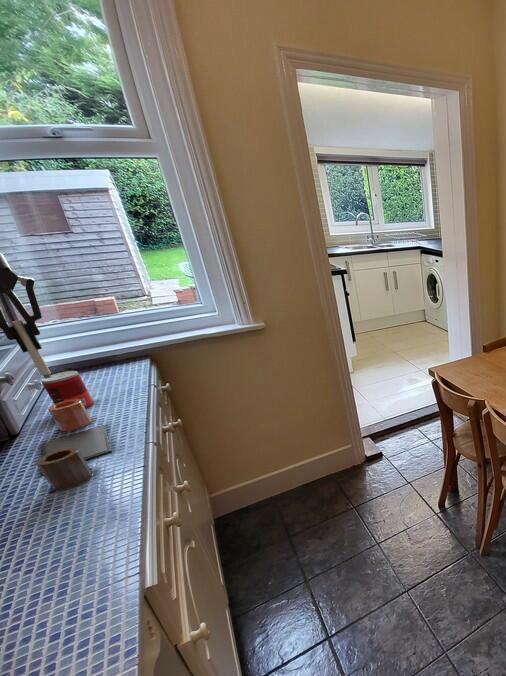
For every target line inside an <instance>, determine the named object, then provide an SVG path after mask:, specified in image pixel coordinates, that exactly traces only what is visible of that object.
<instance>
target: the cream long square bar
mask: <svg viewBox="0 0 506 676" xmlns="http://www.w3.org/2000/svg"><path fill="white" fill-rule="evenodd" d="M10 323H11V325H13V326H14V328H15V330H16V332H17V333H18V335H19V337H20V339H21V340H22V342H23V344H24V346H25V347H26V349H27V351H28V352H27V353H28V355H29V357H30V359H31V360H32V362H33V364H34V365H35V367H36V369H37V371H38V372H39V374H40V376H42V377H43V378H45V379H46V378H50V377H51V375H52V372H51V370H50V368H49V367H48V365H47V363H46V361H45V360H44V358H43V356H42V354H41V352H40V350H37V348H36V347H35V345H34V343H33V341H32V340H31V338H30V336H29V334H28V333H27V331H26V329H25V327H24V326H23V323H24V322H23V320H13V321H10Z"/></svg>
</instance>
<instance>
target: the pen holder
mask: <svg viewBox="0 0 506 676" xmlns="http://www.w3.org/2000/svg"><path fill="white" fill-rule="evenodd" d="M47 410H48V412H49V413H50V416H51V417H52V419H53V421H54V422H55V424H56V426H57V427H58V429H59V430H60V431H61V432H70V431H74V430H78V429H81V428H83V427H86V426H88V425H90V424H91V423H92V421H93V420H92V418H91V416H90V414H89V412H88V411H87V408H85V407H84V405H83V403H82V402H81V400H80V399H73V400H67V401H63V402H60V403H57V404H54V403H53V404H52V405H50V406H49V407H47Z"/></svg>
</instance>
